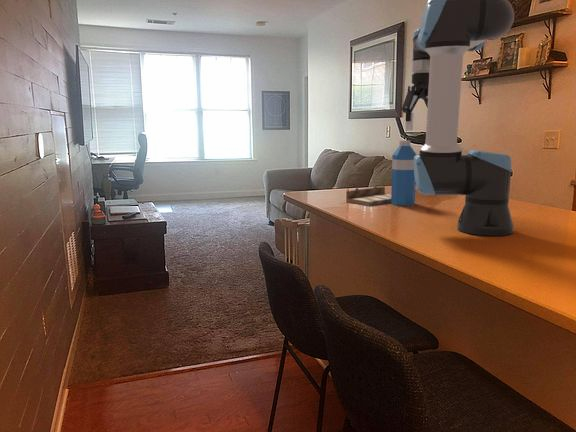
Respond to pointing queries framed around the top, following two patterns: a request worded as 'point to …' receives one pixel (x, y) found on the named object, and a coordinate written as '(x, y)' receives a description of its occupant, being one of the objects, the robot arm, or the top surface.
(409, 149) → the water bottle
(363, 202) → the ledge board
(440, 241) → the top surface
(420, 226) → the top surface
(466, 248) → the top surface
